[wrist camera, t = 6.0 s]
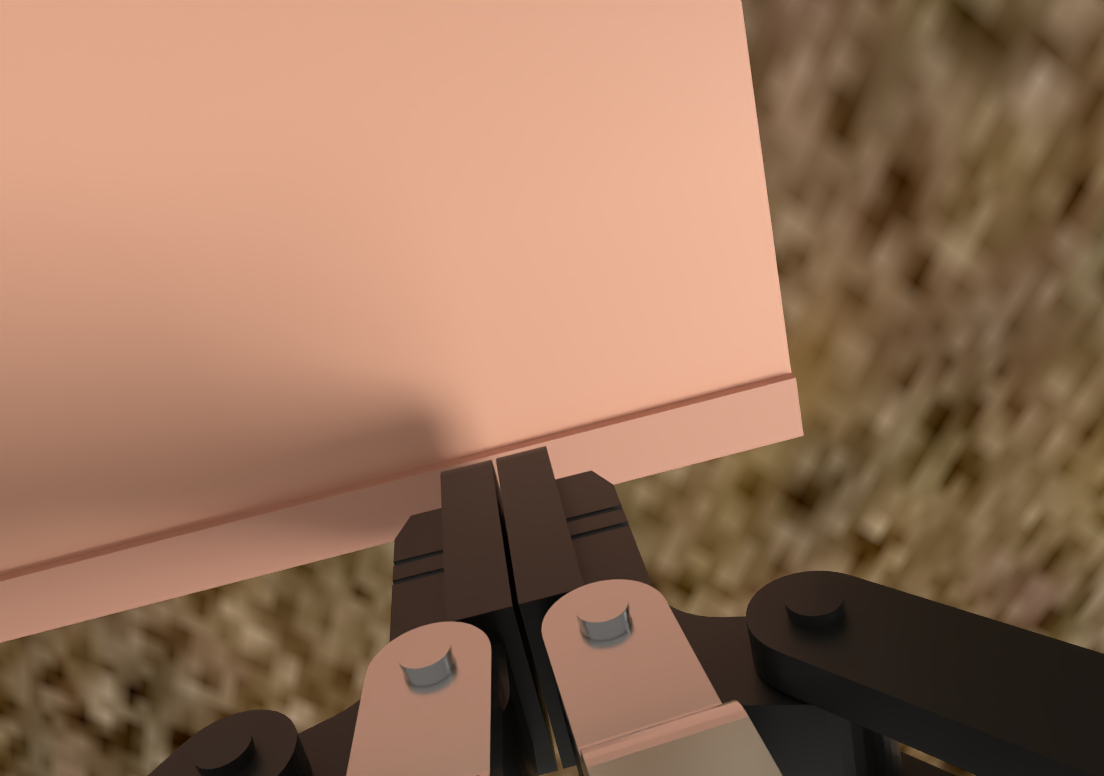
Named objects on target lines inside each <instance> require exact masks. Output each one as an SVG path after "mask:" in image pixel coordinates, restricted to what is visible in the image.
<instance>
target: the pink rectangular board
mask: <svg viewBox="0 0 1104 776" xmlns="http://www.w3.org/2000/svg"><path fill="white" fill-rule="evenodd" d="M800 436H803V428H802V421H801V413H800V406H799V398H798V391H797V383H796V377H795V376H794V375H793V374H792V373H791V367H790V360H789V353H788V345H787V338H786V330H785V323H784V315H783V308H782V300H781V293H780V286H779V278H778V271H777V263H776V256H775V248H774V241H773V233H772V226H771V219H770V211H769V204H768V196H767V189H766V181H765V174H764V166H763V159H762V151H761V144H760V137H759V129H758V122H757V114H756V107H755V99H754V92H753V84H752V77H751V70H750V62H749V55H748V47H747V40H746V32H745V25H744V17H743V10H742V2H741V0H0V643H1V642H5V641H8V640H12V639H16V638H20V637H24V636H28V635H32V634H36V633H39V632H43V631H47V630H51V629H55V628H59V627H63V626H67V625H71V624H74V623H78V622H82V621H86V620H90V619H94V618H98V617H102V616H105V615H109V614H113V613H117V612H121V611H125V610H129V609H133V608H136V607H140V606H144V605H148V604H152V603H156V602H160V601H164V600H168V599H171V598H175V597H179V596H183V595H187V594H191V593H195V592H199V591H202V590H206V589H210V588H214V587H218V586H222V585H226V584H230V583H234V582H237V581H241V580H245V579H249V578H253V577H257V576H261V575H265V574H268V573H272V572H276V571H280V570H284V569H288V568H292V567H296V566H299V565H303V564H307V563H311V562H315V561H319V560H323V559H327V558H331V557H334V556H338V555H342V554H346V553H350V552H354V551H358V550H362V549H365V548H369V547H373V546H377V545H381V544H385V543H389V542H393V541H395V538H396V537H397V535H398V534H399V532H400V531H401V529H402V528H403V526H404V525H405V523H406V522H407V520H408V519H409V517H410V516H411V515H415V514H419V513H423V512H427V511H431V510H435V509H439V508H442V506H441V479H440V473H441V472H443V471H447V470H451V469H455V468H459V467H463V466H467V465H471V464H475V463H479V462H483V461H488V460H492V462H493V465H494V468H495V471H496V475H497V479H498V482H499V477H498V470H497V464H496V458H499V457H503V456H507V455H511V454H515V453H519V452H523V451H527V450H531V449H535V448H539V447H543V446H546V447H547V451H548V455H549V458H550V462H551V466H552V469H553V473H554V477H555V479H559V478H563V477H567V476H571V475H575V474H579V473H583V472H587V471H591V470H592V471H593V472H595V473H596V474H598V475H599V476H601V477H603V478H604V479H606V480H607V481H609V482H610V483H612V484H613V485H614V484H618V483H622V482H625V481H629V480H633V479H637V478H641V477H645V476H649V475H653V474H656V473H660V472H664V471H668V470H672V469H676V468H680V467H684V466H688V465H691V464H695V463H699V462H703V461H707V460H711V459H715V458H719V457H722V456H726V455H730V454H734V453H738V452H742V451H746V450H750V449H753V448H757V447H761V446H765V445H769V444H773V443H777V442H781V441H785V440H788V439H792V438H796V437H800ZM499 486H500V483H499Z"/></svg>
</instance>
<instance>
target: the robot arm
mask: <svg viewBox="0 0 1104 776" xmlns="http://www.w3.org/2000/svg"><path fill="white" fill-rule="evenodd" d="M496 464H497V470H498V477H499V482H498V479H497V475H496V471H495V468H494V465H493V462H492V460H488V461H483V462H479V463H475V464H471V465H467V466H463V467H459V468H455V469H451V470H447V471H443V472H441V473H440V479H441V506H442V508H439V509H435V510H431V511H427V512H423V513H419V514H415V515H411V516H410V517H409V519H408V520H407V522H406V523H405V525H404V526H403V528H402V529H401V531H400V532H399V534H398V535H397V537H396V538H395V545H394V565H395V566H393V584H394V585H392V606H391V626H390V643H388V644H387V645H386V646H385V647H383V648H382V649H381V650H380V651H379V652H378V653H377V655H376V656H375V657H374V658H373V660H372V661H371V663H370V665H369V667H368V669H367V672H366V675H365V680H364V685H363V690H362V695H361V699H360V700H359V701H358V702H356V703H355V704H354V705H352V706H351V707H349V708H348V709H346V710H345V711H343V712H341V713H339V714H337V715H335V716H334V717H332V718H330V719H328V720H326V721H323V722H321V723H319V724H317V725H315V726H313V727H311V728H309V729H307V730H305V731H303V732H301V733H299V734H298V733H297V730H296V728H295V725H294V724H293V723H292V721H291V720H290V719H289V718H288V717H287V716H285V715H284V714H281V713H279V712H276V711H271V710H251V711H245V712H241V713H237V714H234V715H231V716H228V717H225V718H223V719H220V720H218V721H216V722H214V723H212V724H210V725H209V726H207V727H205V728H203V729H202V730H200V731H199V732H197V733H196V734H194V735H193V736H192V737H191V738H189V739H188V740H187V741H186V742H185V743H183V744H182V745H181V746H180V747H179V748H178V749H177V750H176V751H175V752H174V753H172V754H171V755H170V756H169V757H168V758H167V759H166V760H165V761H164V762H163V763H161V764H160V765H159V766H158V767H157V768H156V769H155V770H154V771H153V772H151V773H150V774H149V775H148V776H538V775H542V774H545V773H549V772H553V771H557V770H558V769H557V763H556V758H555V752H554V746H553V740H552V735H551V729H550V723H549V718H550V721H551V725H552V729H553V732H554V736H555V740H556V743H557V747H558V751H559V754H560V758H561V762H562V765H563V769H564V768H567V767H571V766H575V765H577V769H578V773H579V776H956V775H954V774H951V773H949V772H947V771H944V770H942V769H940V768H937V767H935V766H933V765H931V764H928V763H926V762H924V761H921V760H919V759H917V758H914V757H912V756H910V755H907V754H905V753H903V752H900V743H903V744H905V745H907V746H910V747H912V748H915V749H917V750H919V751H922V752H924V753H926V754H929V755H931V756H933V757H936V758H938V759H940V760H943V761H945V762H947V763H950V764H952V765H955V766H957V767H959V768H962V769H964V770H966V771H968V772H970V773H972V774H974V775H976V776H1104V654H1102V653H1099V652H1096V651H1093V650H1090V649H1086V648H1083V647H1080V646H1077V645H1073V644H1070V643H1067V642H1064V641H1061V640H1057V639H1054V638H1051V637H1048V636H1044V635H1041V634H1038V633H1035V632H1031V631H1028V630H1025V629H1022V628H1019V627H1015V626H1012V625H1009V624H1006V623H1002V622H999V621H996V620H993V619H990V618H986V617H983V616H980V615H977V614H973V613H970V612H967V611H964V610H960V609H957V608H954V607H951V606H948V605H944V604H941V603H938V602H935V601H931V600H928V599H925V598H922V597H918V596H915V595H912V594H909V593H906V592H902V591H899V590H896V589H893V588H889V587H886V586H883V585H880V584H877V583H873V582H870V581H867V580H864V579H860V578H857V577H854V576H851V575H847V574H843V573H838V572H830V571H808V572H800V573H795V574H791V575H787V576H784V577H781V578H779V579H777V580H774V581H772V582H771V583H769V584H767V585H765V586H764V587H763V588H762V589H760V590H759V591H758V592H757V593H756V594H755V595H754V596H753V598H752V599H751V601H750V603H749V604H748V608H747V611H746V617H705V616H697V615H693V614H689V613H685V612H682V611H680V610H677V609H675V608H673V607H671V606H669V605H668V603H667V602H666V600H665V598H664V597H663V596H662V594H661V593H660V592H658V591H657V590H656V589H655V588H653V586H652V583H651V581H650V578H649V576H648V573H647V571H646V568H645V565H644V563H643V560H642V558H641V555H640V552H639V550H638V547H637V545H636V542H635V539H634V537H633V534H632V532H631V529H630V527H629V525H628V521H627V519H626V516H625V514H624V511H623V509H622V507H621V503H620V501H619V498H618V495H617V493H616V490H615V488H614V485H613V484H612V483H610V482H609V481H607V480H606V479H604V478H603V477H601V476H599V475H598V474H596V473H595V472H593V471H592V470H591V471H587V472H583V473H579V474H575V475H571V476H567V477H563V478H559V479H555V477H554V473H553V469H552V466H551V462H550V458H549V455H548V451H547V447H546V446H543V447H539V448H535V449H531V450H527V451H523V452H519V453H515V454H511V455H507V456H503V457H499V458H496ZM499 483H500V486H499ZM547 710H548V712H547ZM548 714H549V717H548Z"/></svg>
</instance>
